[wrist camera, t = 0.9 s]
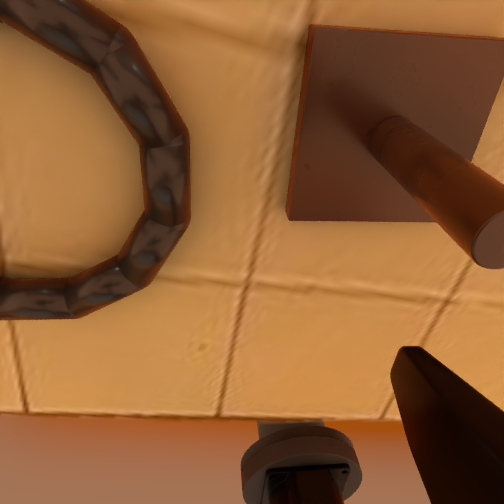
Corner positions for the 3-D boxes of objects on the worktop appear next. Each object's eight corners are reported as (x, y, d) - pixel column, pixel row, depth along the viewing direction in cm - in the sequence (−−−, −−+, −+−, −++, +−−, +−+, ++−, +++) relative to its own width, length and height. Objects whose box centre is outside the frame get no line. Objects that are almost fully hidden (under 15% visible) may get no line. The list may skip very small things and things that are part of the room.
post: (438, 213, 21) (570, 343, 13) (284, 211, 20) (335, 350, 12) (502, 37, 16) (750, 86, 9) (309, 23, 15) (408, 66, 8)
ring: (192, 299, 22) (192, 325, 21) (-110, 303, 20) (-137, 331, 19) (187, -35, 14) (185, -37, 12) (-320, -79, 12) (-400, -88, 11)
